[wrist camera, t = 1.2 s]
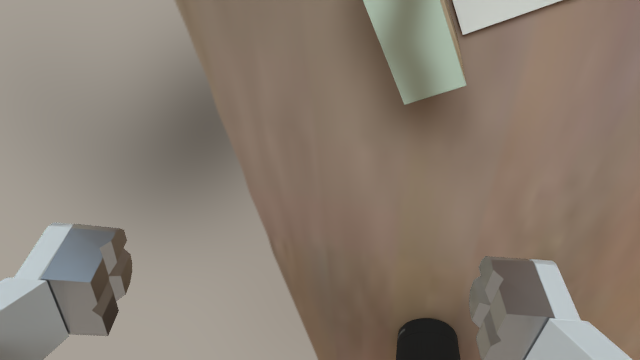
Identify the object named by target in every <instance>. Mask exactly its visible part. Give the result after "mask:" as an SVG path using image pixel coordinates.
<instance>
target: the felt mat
mask: <svg viewBox="0 0 640 360" xmlns="http://www.w3.org/2000/svg"><path fill="white" fill-rule="evenodd" d="M558 1H561V0H453V4H454V7H455V10H456V14H457V17H458V20H459V24H460V27H461V30H462V34H463V35H464V34H467V33H470V32H473V31H476V30H479V29H481V28H484V27H487V26H490V25H493V24H496V23H499V22H501V21H504V20H507V19H510V18H513V17H516V16H518V15H521V14H524V13H527V12H530V11H533V10H536V9H538V8H541V7H544V6H547V5H550V4H553V3H556V2H558Z"/></svg>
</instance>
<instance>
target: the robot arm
mask: <svg viewBox="0 0 640 360" xmlns="http://www.w3.org/2000/svg"><path fill="white" fill-rule="evenodd" d="M126 241H127V239H126V236H125V232H124V230H122V229H120V228H111V227H101V226H91V225H81V224H67V223H57V222H54V223H52V224H51V225H49V226H48V227H47V228H46V229H45V231H44V232H43V234H42V236H41V237H40V239H39V240H38V242H37V243H36V245H35V246H34V248H33V249H32V251H31V253H30V254H29V255H28V257H27V259H26V260H25V262H24V263H23V265H22V266H21V268H20V269H19V271H18V272H17V274H16V275H15V277H14V278H5V279H3V280H2V281H0V360H43V359H44V358H45V357H46V356H48V355H49V354H50V353H51V352H52V351H53V350H54V349H55V348H56V347H58V346H59V345H60V344H61V343H62V342H63V341H64V340H66V339H67V338H68V337H69V334H75V335H97V336H108V335H109V332H110V330H111V328H112V325H113V323H114V321H115V318H116V316H117V313H118V311H119V310H118V307H117V303H116V301H117V300H119V299H120V298H121V297H122V296H124V295H125V294H126V292H127V289H128V287H129V284H130V280H131V274H132V260H131V256H130V254H129V253H128V252H127V251H126V250H125V249H124V245H125V243H126ZM479 270H480V273H481V276H480V277H478V278H477V279H475V280H474V281H473V284H472V287H471V290H470V298H469V306H470V314H471V318H472V321H473V322H474V323H475V324H476V325H477V326H478V327H479V328H480V329H479V332H478V334H477V336H476V340H477V344H478V348H479V352H480V357H481V360H633V359H631V358H630V357H629V356H628V355H627V354H626V353H624V352H623V351H622V350H621V349H620V348H619V347H617V346H616V345H615V344H614V343H613V342H611V341H610V340H609V339H608V338H607V337H606V336H604V335H603V334H602V333H601V332H600V331H599V330H597V329H596V328H595V327H594V326H593V325H592V324H590V323H589V322H588V321H581V319H580V317H579V315H578V312H577V310H576V308H575V306H574V303H573V301H572V299H571V297H570V294H569V292H568V290H567V287H566V285H565V283H564V281H563V278H562V276H561V274H560V272H559V269H558V267H557V265H556V264H555V263H554V262H553V261H548V260H534V259H530V260H528V259H520V258H505V257H490V256H485V257H484V258H483V259H482V261H481V264H480V266H479Z"/></svg>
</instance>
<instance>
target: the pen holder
mask: <svg viewBox="0 0 640 360" xmlns="http://www.w3.org/2000/svg"><path fill="white" fill-rule="evenodd" d="M396 360H460V354H459V347H458V340H457V335H456V333H455V331H454V330H453V329H452V328H451V327H450V326H449V325H448V324H446V323H444V322H442V321H439V320H435V319H427V318H424V319H416V320H412V321H410V322H408V323H406V324H405V325H404V326H403V327H402V328H401V329H400V330H399V333H398V340H397V353H396Z"/></svg>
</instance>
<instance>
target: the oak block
mask: <svg viewBox="0 0 640 360" xmlns="http://www.w3.org/2000/svg"><path fill="white" fill-rule="evenodd" d="M363 2H364V4H365V7H366V9H367V12H368V14H369V17H370V19H371V22H372V24H373V27H374V29H375V32H376V34H377V37H378V39H379V42H380V44H381V47H382V49H383V52H384V54H385V57H386V59H387V62H388V64H389V67H390V70H391V72H392V75H393V77H394V80H395V82H396V85H397V87H398V90H399V92H400V95H401V97H402V100H403V102H404V105H405V104H409V103H412V102H415V101H418V100H421V99H425V98H428V97H431V96H434V95H437V94H440V93H444V92H447V91H450V90H453V89H456V88H460V87H463V86H466V81H465V76H464V70H463V65H462V59H461V54H460V48H459V43H458V37H457V33H456V30H455V26H454V23H453V20H452V16H451V13H450V10H449V7H448V3H447V0H363Z"/></svg>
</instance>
